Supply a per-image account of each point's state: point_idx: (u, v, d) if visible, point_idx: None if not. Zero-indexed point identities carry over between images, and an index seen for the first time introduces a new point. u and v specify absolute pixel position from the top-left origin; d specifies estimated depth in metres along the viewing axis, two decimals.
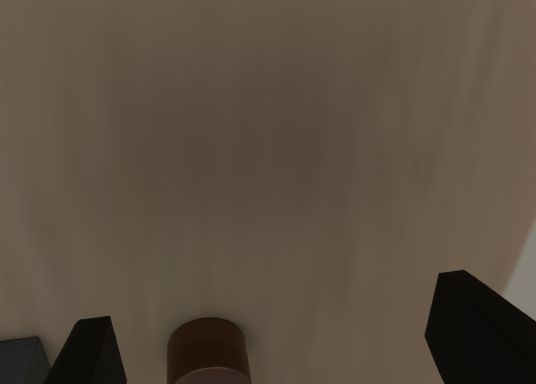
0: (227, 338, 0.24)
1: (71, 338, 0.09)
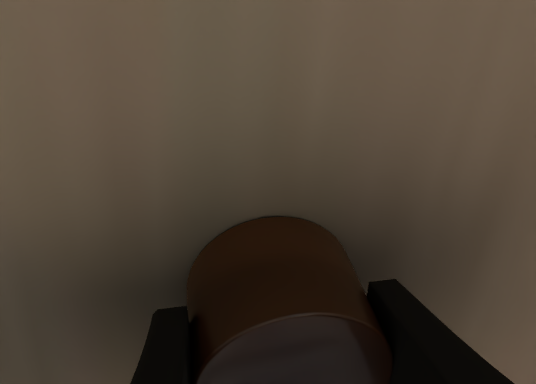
0: (328, 256, 0.10)
1: (155, 327, 0.09)
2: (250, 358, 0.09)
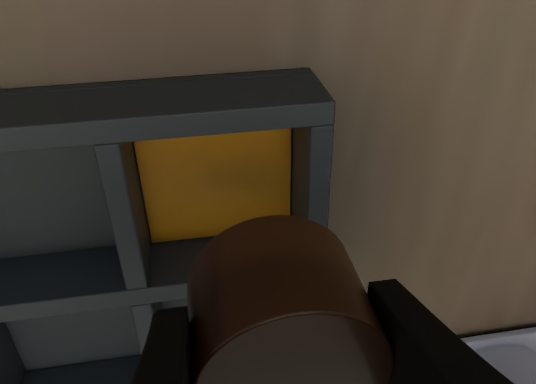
0: (329, 254, 0.10)
1: (155, 327, 0.09)
2: (251, 356, 0.09)
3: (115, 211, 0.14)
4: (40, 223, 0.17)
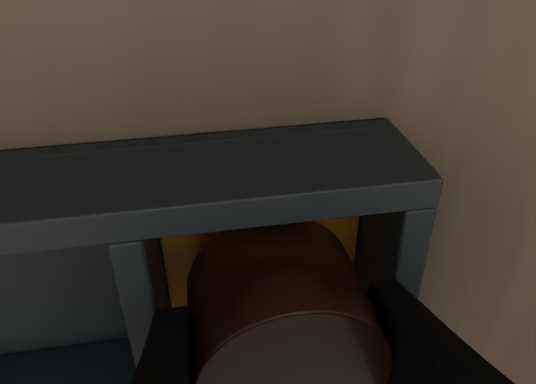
0: (328, 254, 0.10)
1: (155, 327, 0.09)
2: (251, 356, 0.09)
3: (135, 323, 0.10)
4: (33, 315, 0.13)
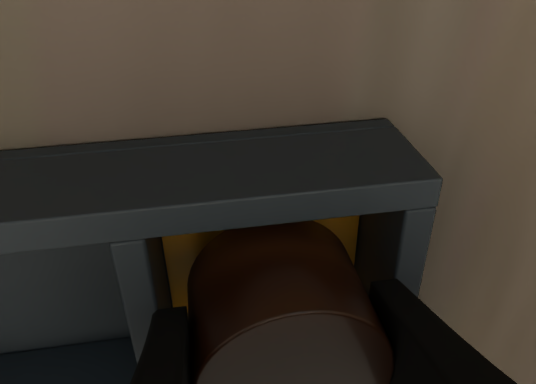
0: (329, 254, 0.10)
1: (154, 327, 0.09)
2: (251, 356, 0.09)
3: (137, 321, 0.10)
4: (35, 314, 0.13)
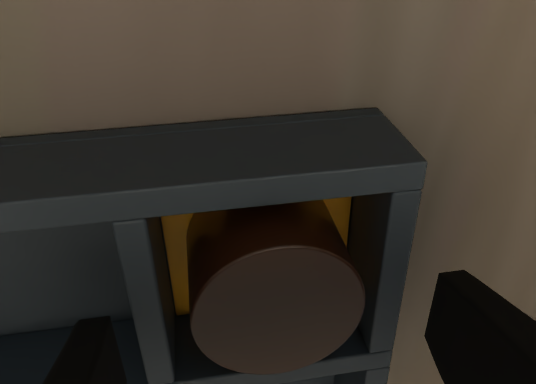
0: (310, 206, 0.12)
1: (71, 338, 0.09)
2: (240, 286, 0.10)
3: (138, 299, 0.11)
4: (40, 296, 0.14)
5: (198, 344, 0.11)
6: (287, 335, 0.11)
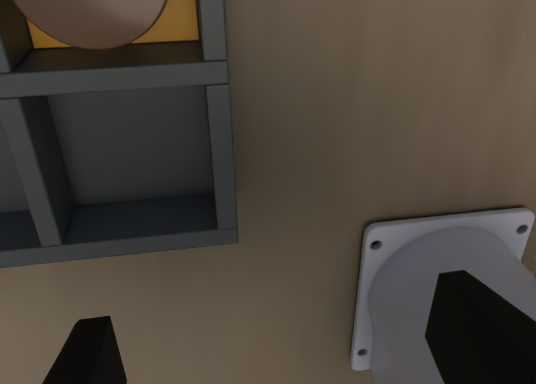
0: None
1: (71, 338, 0.09)
2: None
3: None
4: None
5: None
6: None
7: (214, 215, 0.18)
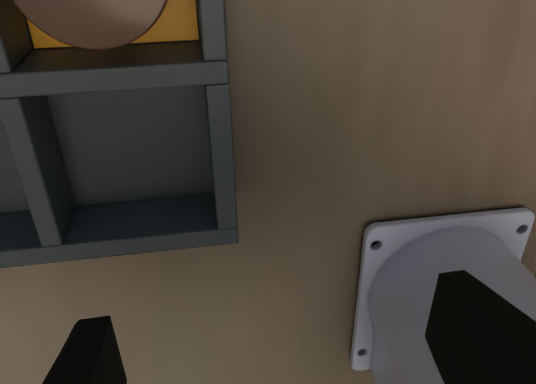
0: None
1: (71, 338, 0.09)
2: None
3: None
4: None
5: None
6: None
7: (214, 215, 0.18)
